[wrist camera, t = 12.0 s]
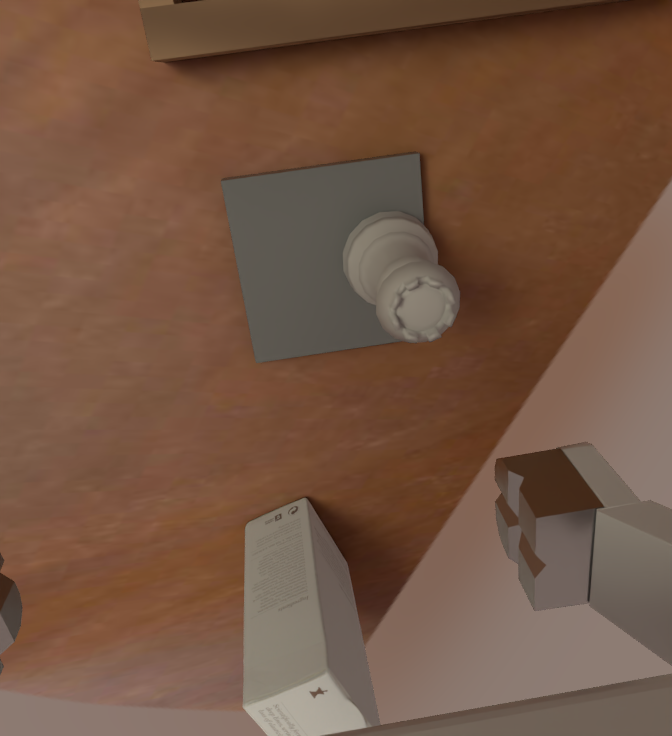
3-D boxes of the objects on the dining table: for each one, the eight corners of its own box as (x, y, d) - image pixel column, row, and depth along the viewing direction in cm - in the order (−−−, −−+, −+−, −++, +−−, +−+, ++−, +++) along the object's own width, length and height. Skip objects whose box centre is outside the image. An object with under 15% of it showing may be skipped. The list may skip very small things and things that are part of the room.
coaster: (222, 178, 29) (220, 180, 28) (415, 151, 29) (419, 153, 29) (256, 356, 33) (256, 362, 32) (427, 331, 33) (431, 336, 32)
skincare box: (241, 522, 37) (229, 709, 26) (310, 491, 37) (327, 668, 26) (290, 592, 40) (298, 788, 29) (355, 563, 39) (387, 752, 28)
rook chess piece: (451, 239, 30) (507, 289, 23) (400, 315, 32) (438, 386, 25) (373, 190, 29) (407, 228, 22) (323, 272, 31) (340, 333, 23)
